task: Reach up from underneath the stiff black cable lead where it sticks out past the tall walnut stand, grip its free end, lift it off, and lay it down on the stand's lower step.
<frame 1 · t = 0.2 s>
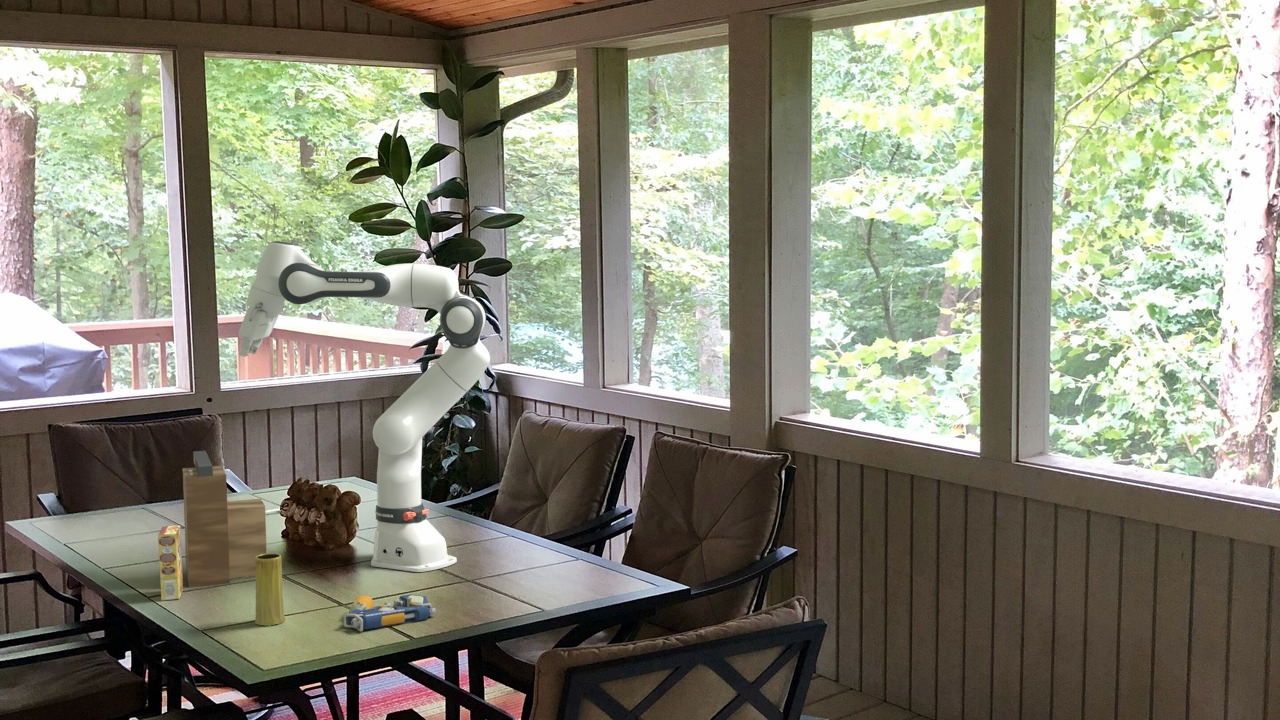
hand: (247, 354, 305), 53 cm above the table, tool tilted 20°, fingers open, 8 cm apart
candy box: (172, 596, 279), on the table
charging cable: (272, 516, 366), on the table
stand: (207, 577, 294), on the table
lead: (202, 468, 296), point 26 cm above the table, touching stand
toy blaster gun: (385, 619, 262), on the table
vase: (270, 622, 259), on the table
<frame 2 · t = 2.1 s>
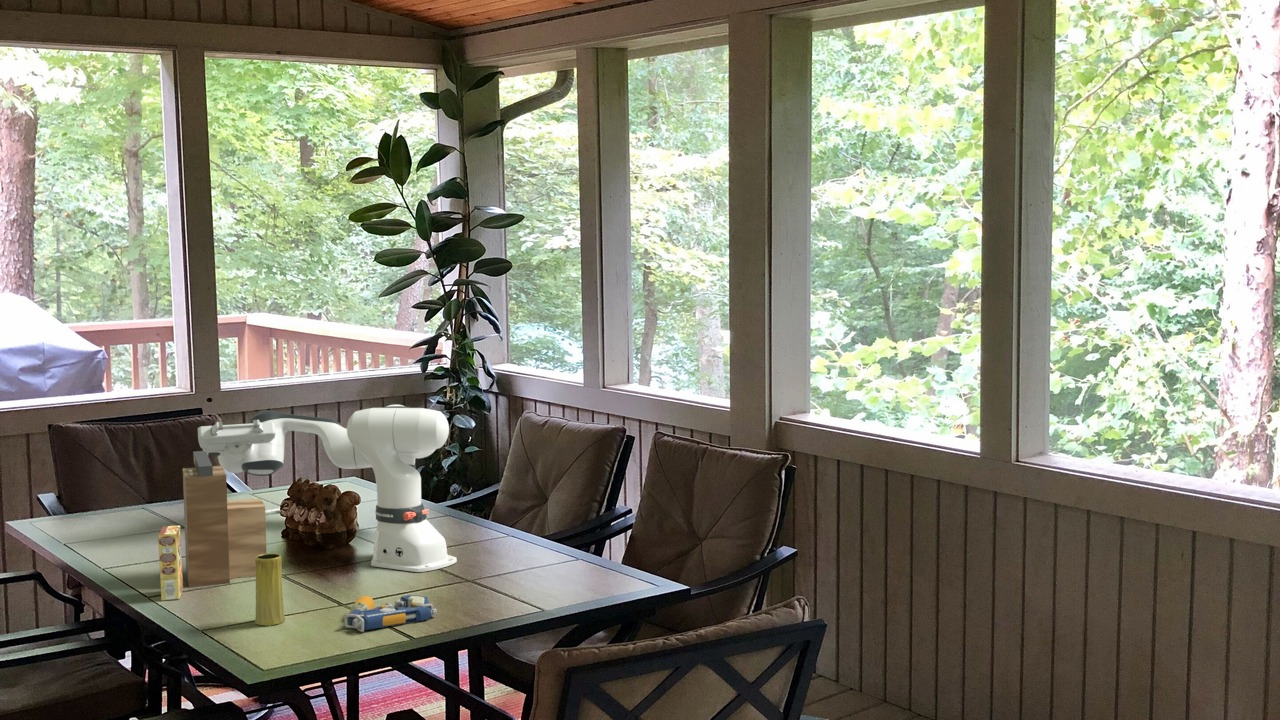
hand: (238, 423, 326), 33 cm above the table, tool pointing upward, fingers open, 8 cm apart
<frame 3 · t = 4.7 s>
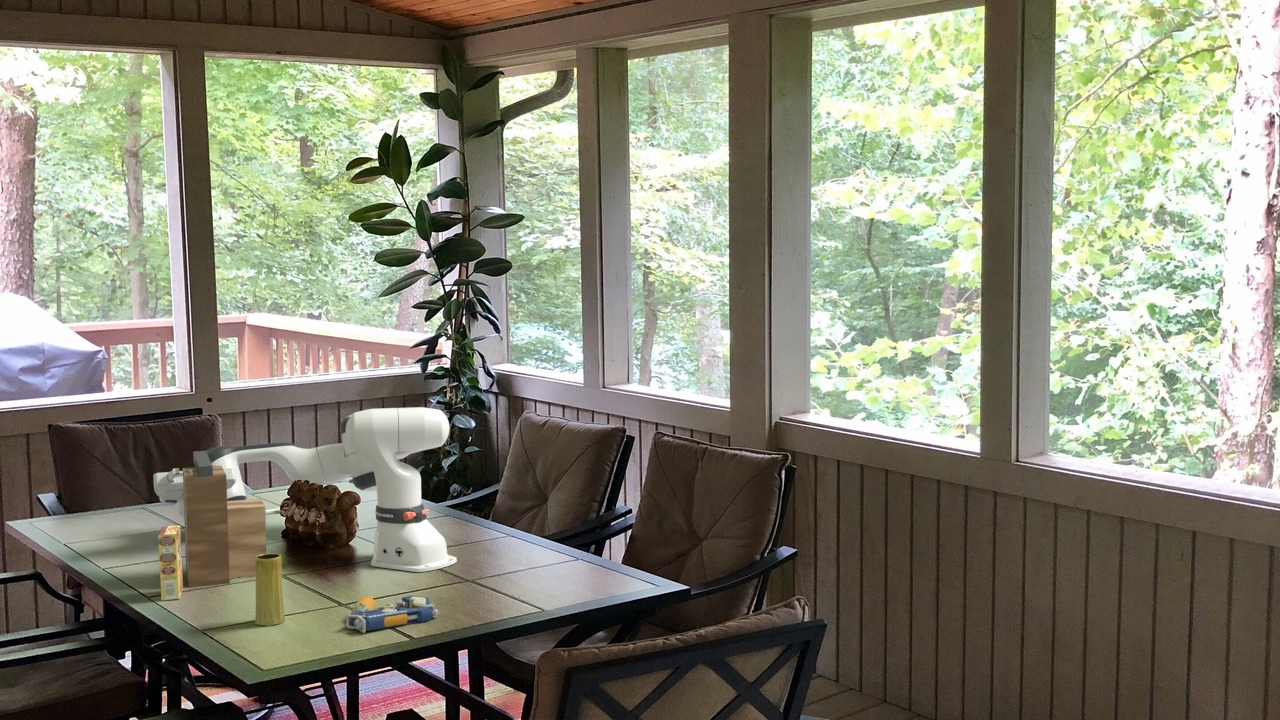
hand: (195, 469, 312), 23 cm above the table, tool pointing upward, fingers open, 8 cm apart
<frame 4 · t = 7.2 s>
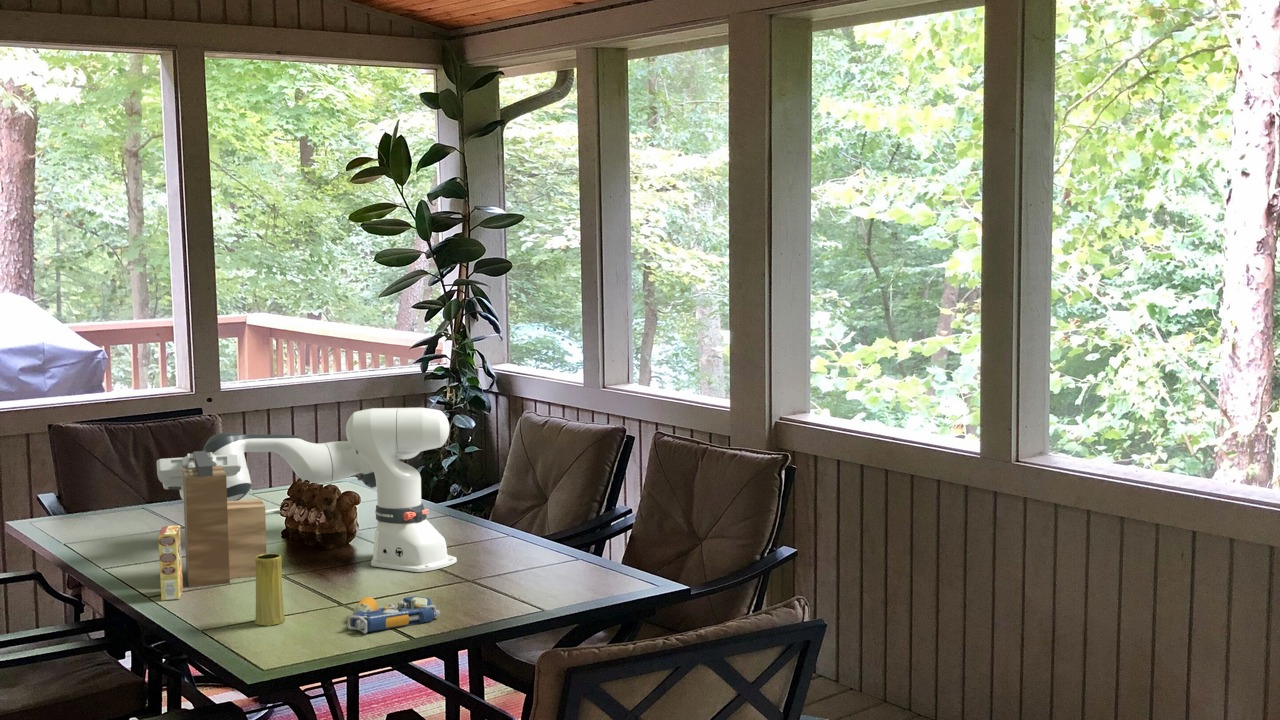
hand: (200, 455, 305), 28 cm above the table, tool pointing upward, fingers closed on lead, 3 cm apart
lead: (202, 468, 296), point 26 cm above the table, touching gripper, stand
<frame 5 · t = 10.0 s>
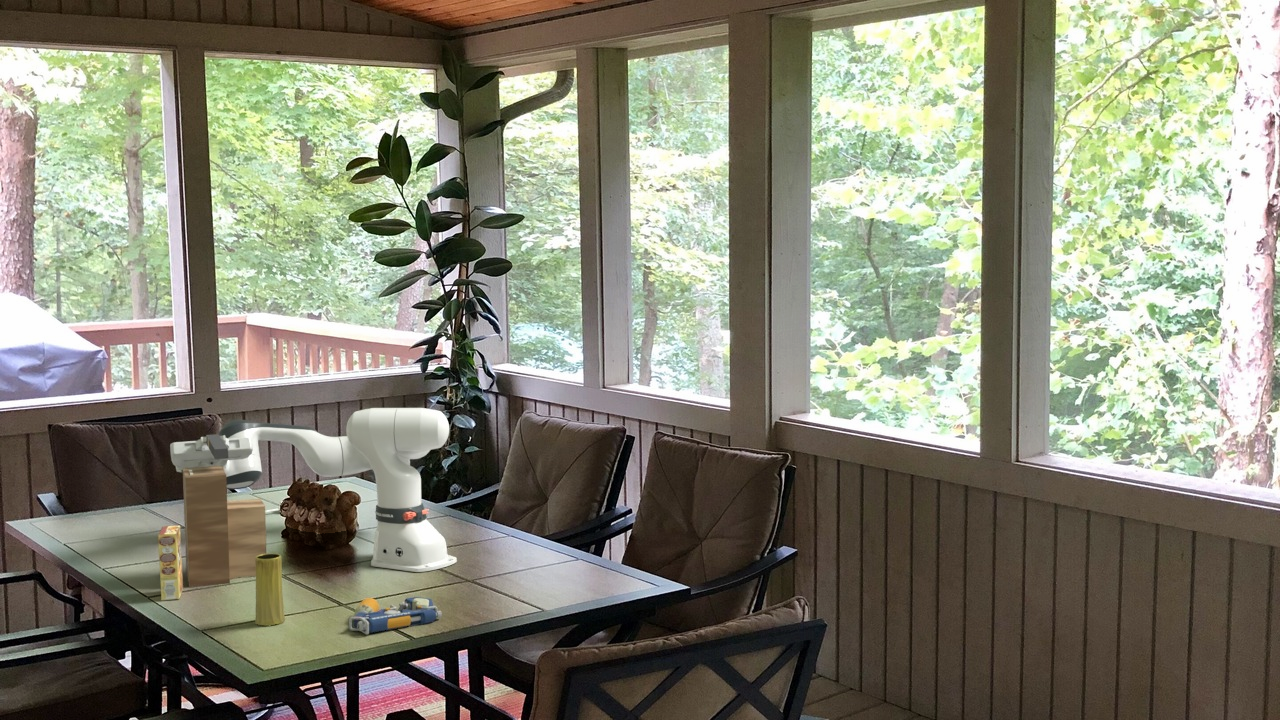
hand: (213, 438, 309), 31 cm above the table, tool pointing upward, fingers closed on lead, 3 cm apart
lead: (217, 451, 301), point 29 cm above the table, touching gripper
when the fingers open (20 cm above the table, at t = 13.3 s): lead drops 1 cm, resting on stand.
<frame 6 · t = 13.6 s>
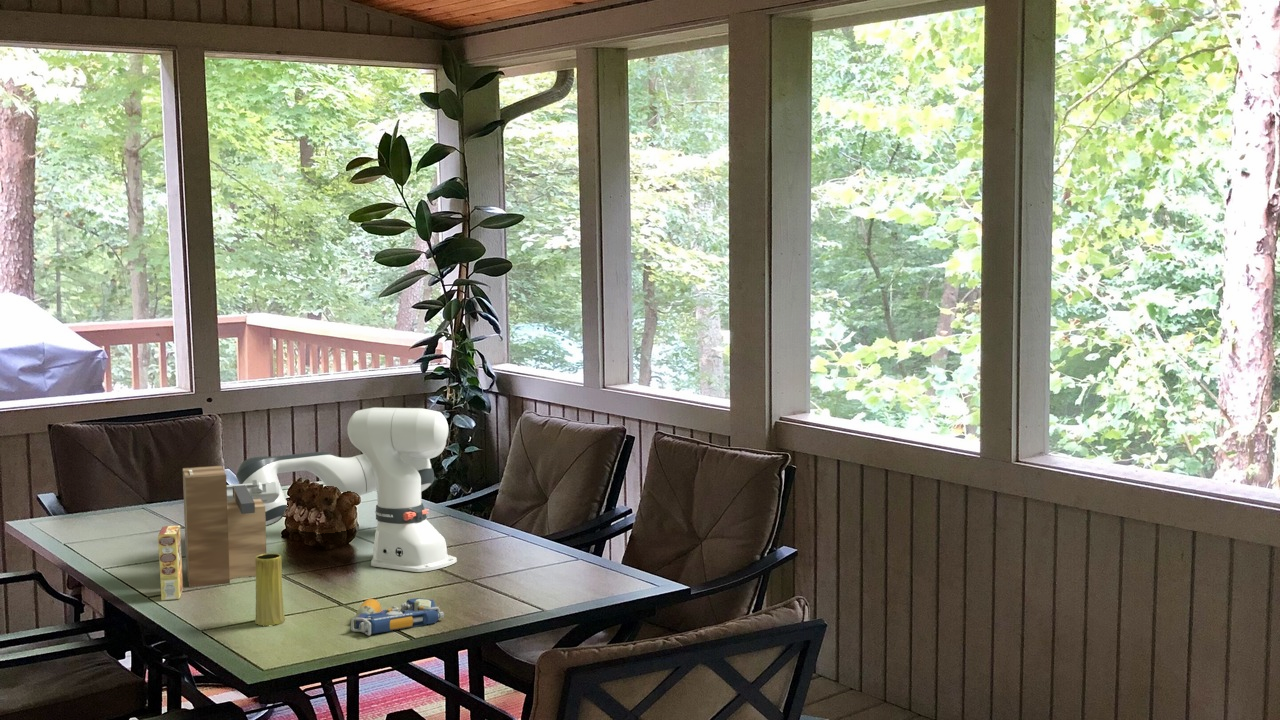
hand: (239, 483, 306), 20 cm above the table, tool pointing upward, fingers open, 6 cm apart
lead: (243, 503, 298), point 17 cm above the table, touching stand
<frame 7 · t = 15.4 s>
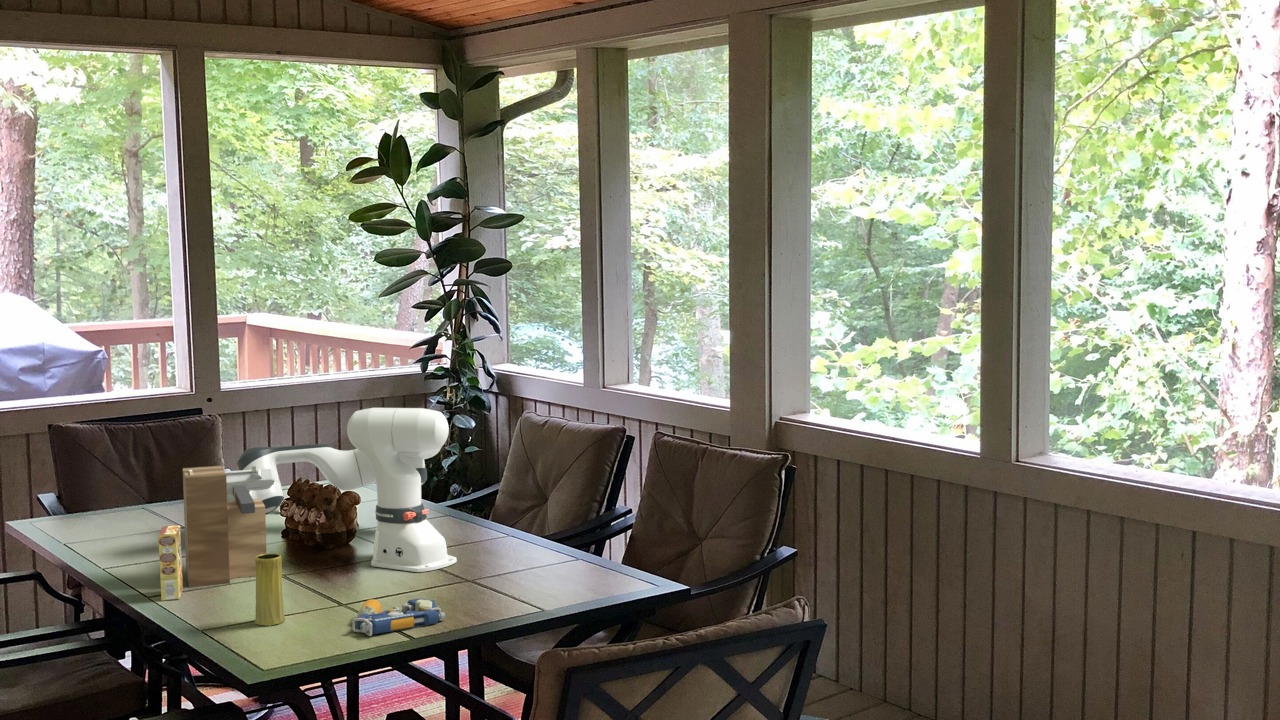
hand: (236, 470, 315), 22 cm above the table, tool pointing upward, fingers open, 8 cm apart
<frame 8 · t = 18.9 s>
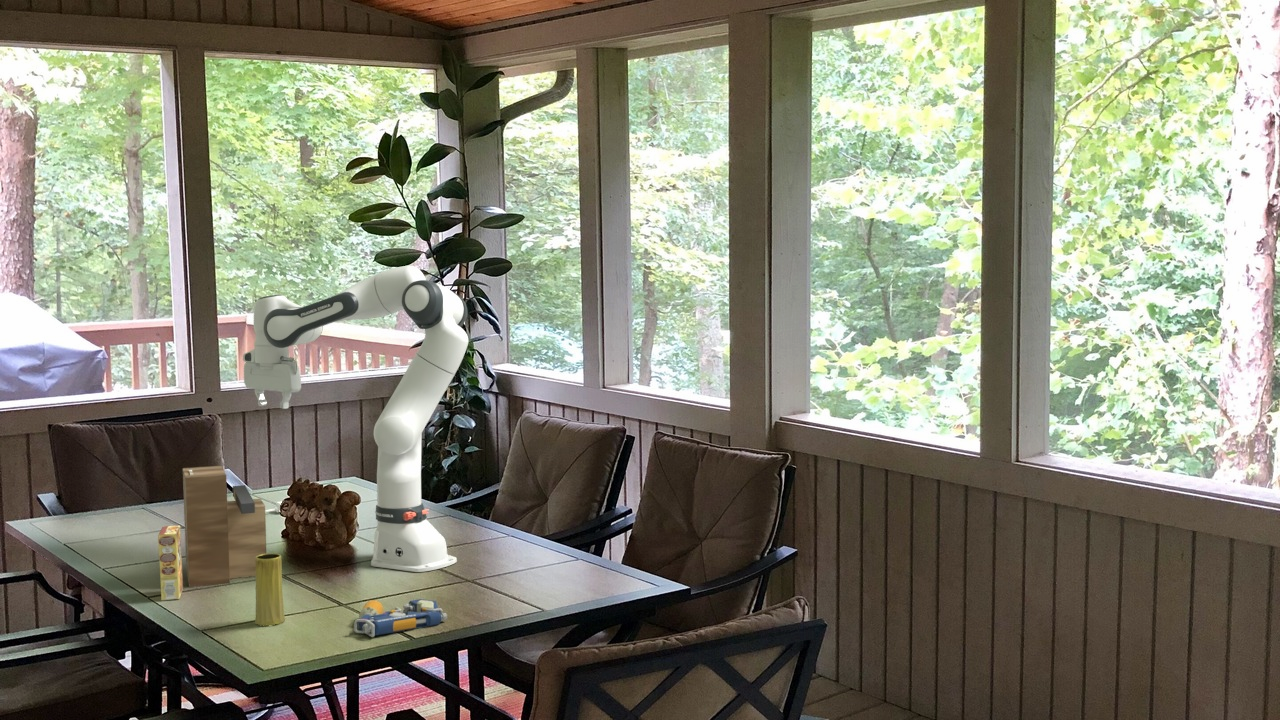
hand: (273, 407, 326), 37 cm above the table, tool pointing down, fingers open, 8 cm apart
at the end: lead inside the target area on the stand (0.1 cm from its centre), point 17.0 cm above the stand's base; the gripper is holding nothing; lead moved 13.0 cm from its start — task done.
